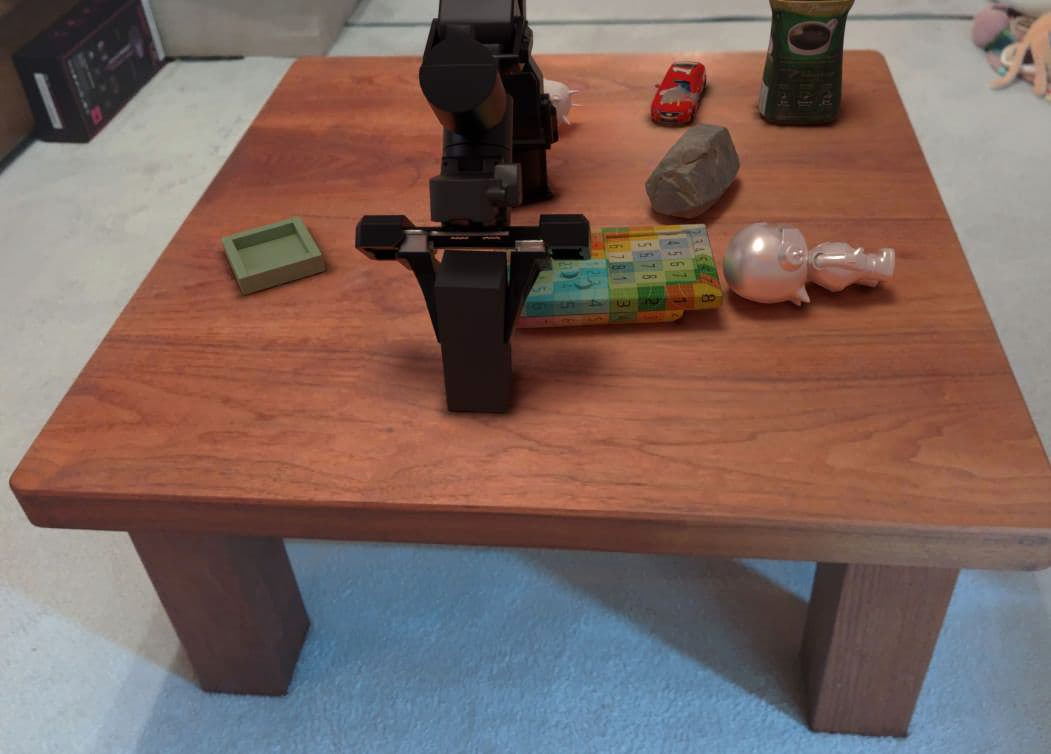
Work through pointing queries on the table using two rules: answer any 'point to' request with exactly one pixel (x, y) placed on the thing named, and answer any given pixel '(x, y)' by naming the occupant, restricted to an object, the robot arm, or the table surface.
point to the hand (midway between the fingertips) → (473, 343)
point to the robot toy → (560, 98)
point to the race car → (679, 92)
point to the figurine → (796, 264)
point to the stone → (694, 172)
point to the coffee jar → (804, 61)
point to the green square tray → (272, 254)
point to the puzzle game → (627, 279)
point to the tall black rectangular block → (474, 330)
